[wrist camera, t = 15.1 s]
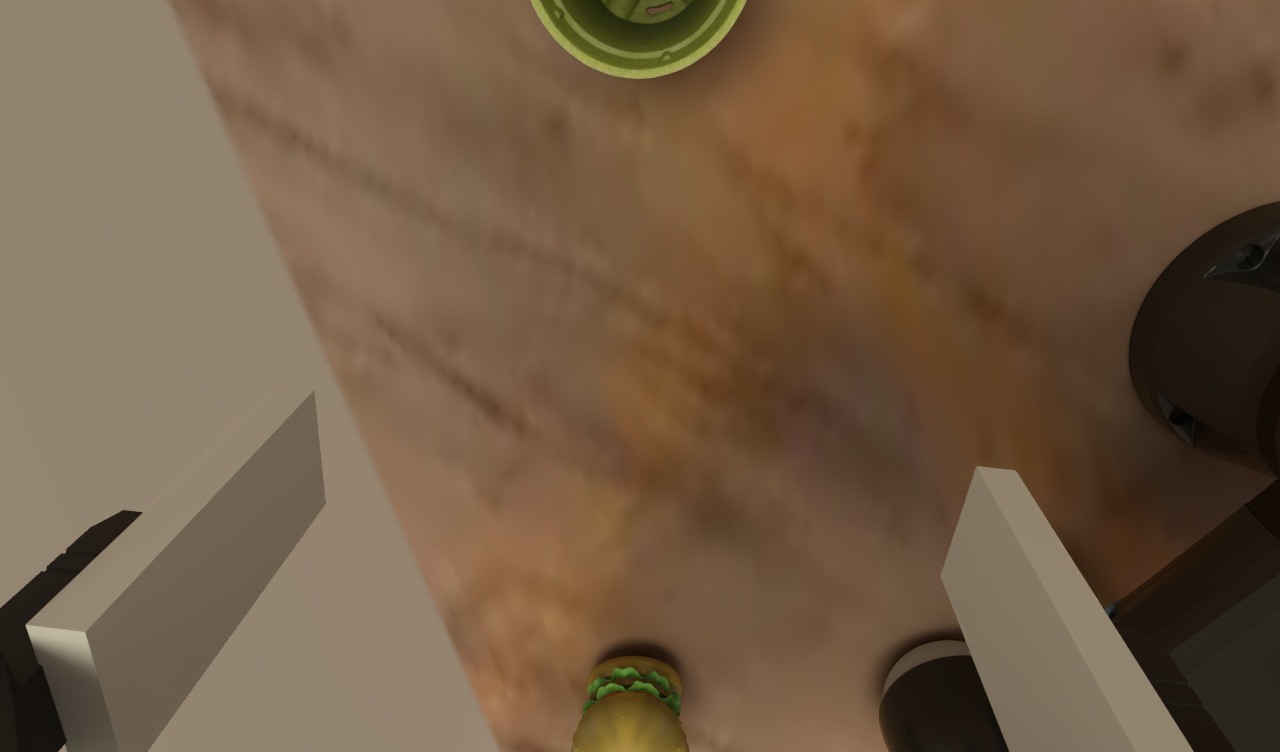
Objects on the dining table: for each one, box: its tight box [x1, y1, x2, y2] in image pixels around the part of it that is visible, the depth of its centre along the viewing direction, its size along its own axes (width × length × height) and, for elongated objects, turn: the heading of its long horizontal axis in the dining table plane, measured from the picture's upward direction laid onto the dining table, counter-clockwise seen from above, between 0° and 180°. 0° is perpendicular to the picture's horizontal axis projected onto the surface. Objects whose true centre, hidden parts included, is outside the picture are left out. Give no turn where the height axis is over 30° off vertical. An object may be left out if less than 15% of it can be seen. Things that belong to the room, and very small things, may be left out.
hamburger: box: [571, 656, 689, 752], centre depth 54 cm, size 8×7×12 cm
